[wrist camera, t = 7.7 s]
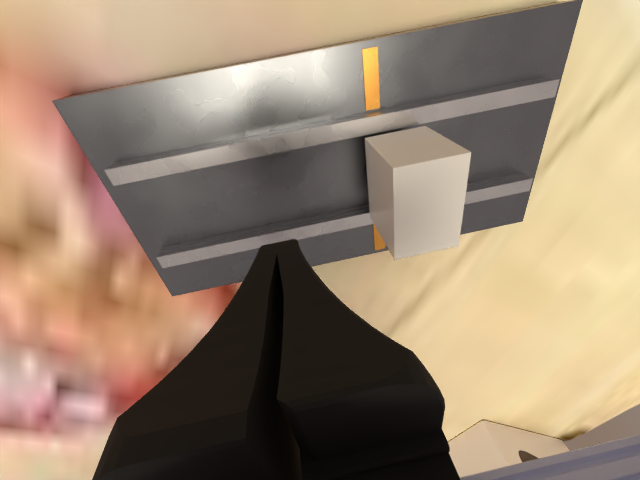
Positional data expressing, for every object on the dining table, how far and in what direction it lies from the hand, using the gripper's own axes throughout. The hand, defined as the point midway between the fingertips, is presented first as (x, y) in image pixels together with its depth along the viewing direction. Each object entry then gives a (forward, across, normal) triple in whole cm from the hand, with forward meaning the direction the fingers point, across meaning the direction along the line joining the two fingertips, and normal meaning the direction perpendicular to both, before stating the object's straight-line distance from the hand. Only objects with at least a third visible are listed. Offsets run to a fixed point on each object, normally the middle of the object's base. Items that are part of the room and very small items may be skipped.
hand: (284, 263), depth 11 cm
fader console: (+8, -4, 0) cm, 9 cm away
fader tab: (+6, -6, 0) cm, 9 cm away
